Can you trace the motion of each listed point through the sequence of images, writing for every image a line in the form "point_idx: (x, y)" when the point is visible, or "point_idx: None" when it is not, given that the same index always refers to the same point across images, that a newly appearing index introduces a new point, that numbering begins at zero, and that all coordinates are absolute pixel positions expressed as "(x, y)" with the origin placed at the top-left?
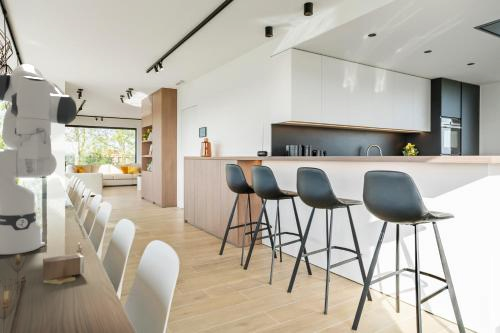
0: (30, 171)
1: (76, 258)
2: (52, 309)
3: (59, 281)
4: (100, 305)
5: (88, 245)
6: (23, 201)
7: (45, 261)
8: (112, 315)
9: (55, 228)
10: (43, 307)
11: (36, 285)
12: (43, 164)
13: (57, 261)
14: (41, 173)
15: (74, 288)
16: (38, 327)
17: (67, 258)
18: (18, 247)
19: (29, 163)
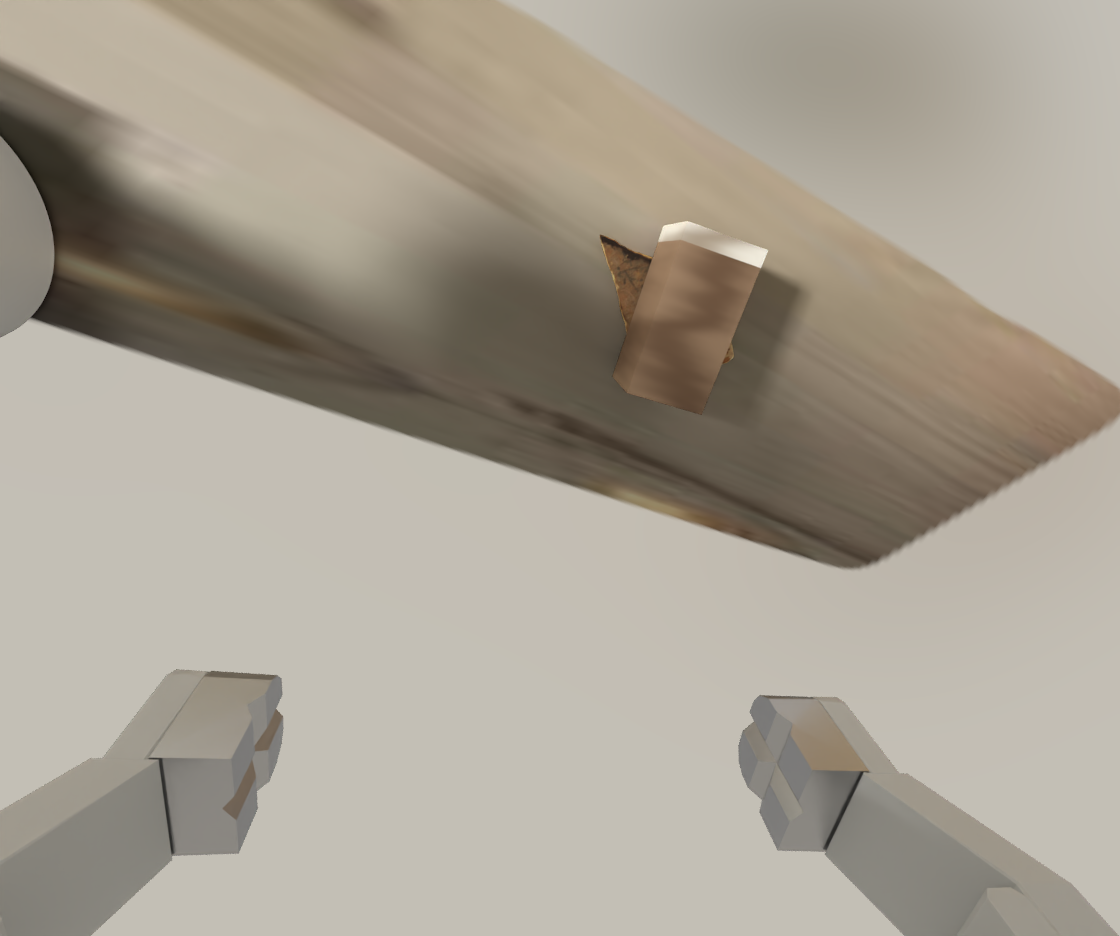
0: (266, 730)
1: (752, 287)
2: (875, 468)
3: (724, 363)
4: (987, 372)
5: None
6: None
7: (684, 407)
8: (1062, 389)
9: None
10: (840, 477)
11: (652, 414)
12: (1023, 872)
13: (718, 369)
14: (836, 721)
15: (801, 346)
16: (927, 529)
17: (725, 321)
18: (14, 256)
19: (2, 917)
